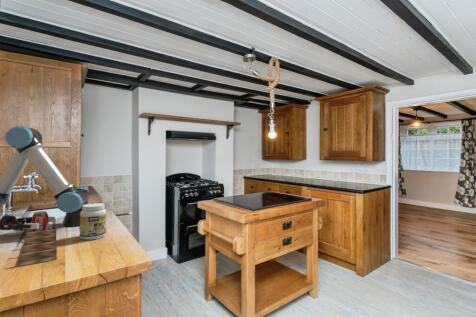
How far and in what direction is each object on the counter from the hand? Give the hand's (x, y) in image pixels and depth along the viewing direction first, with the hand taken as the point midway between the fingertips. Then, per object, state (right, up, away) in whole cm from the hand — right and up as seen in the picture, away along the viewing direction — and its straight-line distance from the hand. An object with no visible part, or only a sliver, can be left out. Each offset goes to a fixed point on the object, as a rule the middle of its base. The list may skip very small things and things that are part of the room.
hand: (46, 222), depth 139 cm
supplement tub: (+26, -7, -2) cm, 27 cm away
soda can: (-3, -7, 0) cm, 8 cm away
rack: (+12, -7, -21) cm, 25 cm away
